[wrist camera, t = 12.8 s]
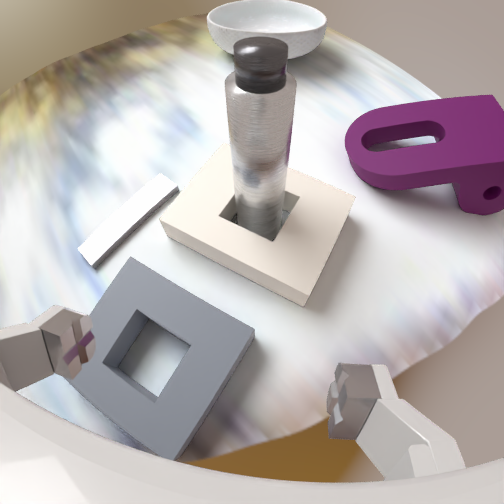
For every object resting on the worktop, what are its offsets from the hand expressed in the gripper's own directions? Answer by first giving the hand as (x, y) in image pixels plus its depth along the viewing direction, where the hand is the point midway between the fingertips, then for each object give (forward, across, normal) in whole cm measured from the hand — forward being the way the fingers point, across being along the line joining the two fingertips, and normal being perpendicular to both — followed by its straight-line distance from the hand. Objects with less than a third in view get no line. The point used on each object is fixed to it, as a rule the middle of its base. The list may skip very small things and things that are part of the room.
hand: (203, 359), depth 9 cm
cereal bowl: (+39, +4, -22) cm, 45 cm away
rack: (+17, 0, 0) cm, 17 cm away
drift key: (+16, +11, +1) cm, 20 cm away
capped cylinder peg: (+17, 0, 0) cm, 17 cm away
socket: (+8, +5, +8) cm, 13 cm away
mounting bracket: (+24, -16, -7) cm, 30 cm away
